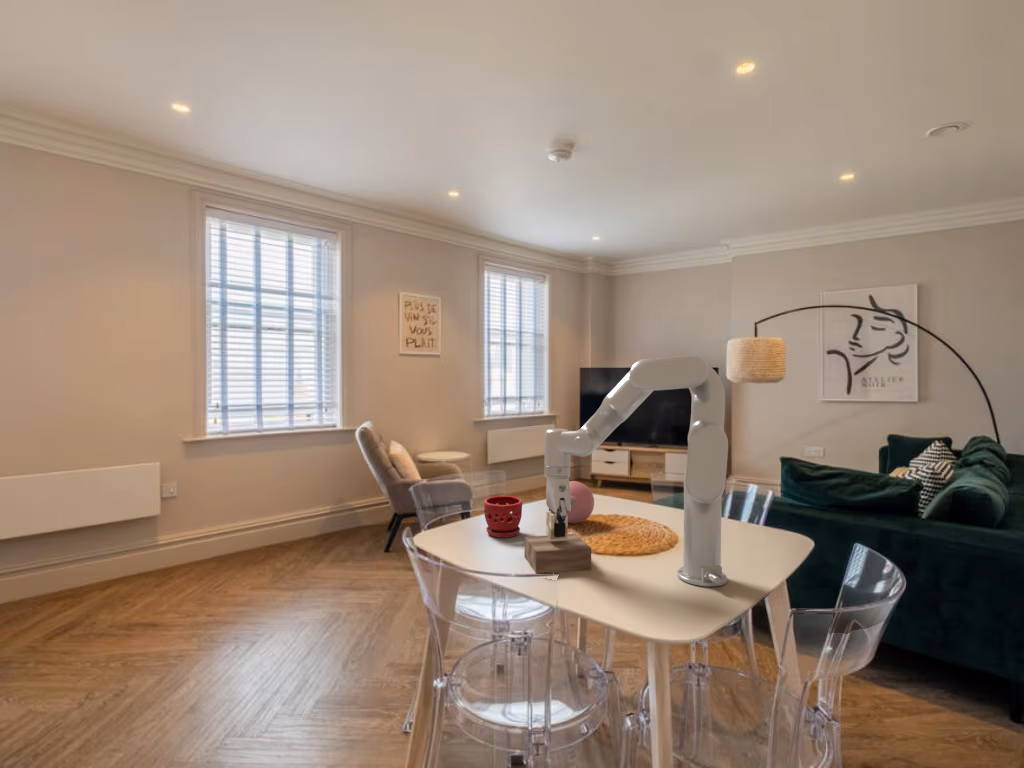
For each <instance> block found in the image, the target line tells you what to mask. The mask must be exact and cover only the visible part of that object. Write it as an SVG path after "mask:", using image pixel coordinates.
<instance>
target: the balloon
mask: <svg viewBox="0 0 1024 768" xmlns="http://www.w3.org/2000/svg"><path fill="white" fill-rule="evenodd" d="M569 484H570V501H571V511H570V512H569V513H568V512H566V513H567V514H568V524H580V523H582V522H584V521H585V520H587V519H589V517H590V516H591V515H592V513H593V511H594V508H595V498H594V495H593V492H592V491H591V490H590V488H589V487H588V486H587V485H585V484H584V483H582V482H580V481H577V480H571V481H570V480H569Z"/></svg>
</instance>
